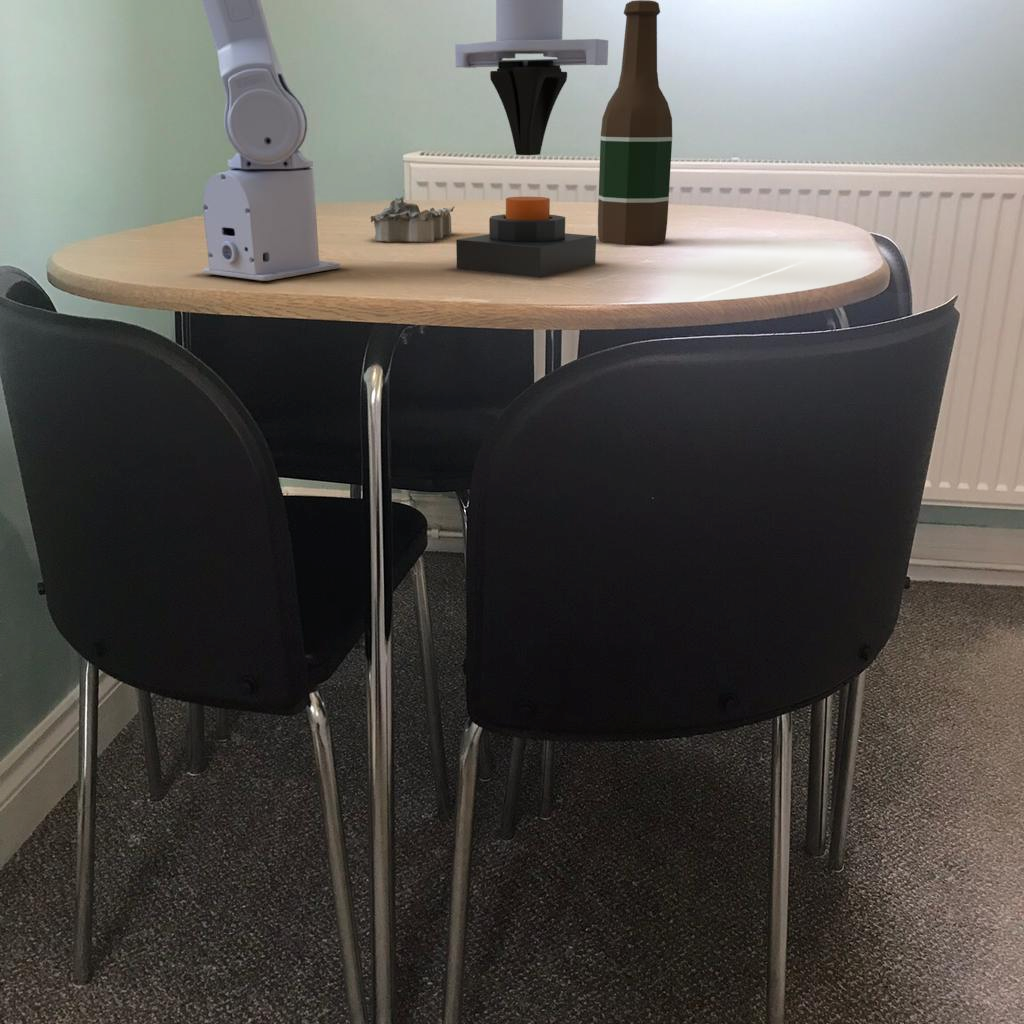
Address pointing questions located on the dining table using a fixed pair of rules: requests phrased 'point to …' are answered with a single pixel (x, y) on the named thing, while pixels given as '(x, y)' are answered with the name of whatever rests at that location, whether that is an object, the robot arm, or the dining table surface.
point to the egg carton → (411, 223)
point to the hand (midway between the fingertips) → (528, 155)
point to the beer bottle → (636, 141)
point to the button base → (526, 248)
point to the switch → (527, 208)
